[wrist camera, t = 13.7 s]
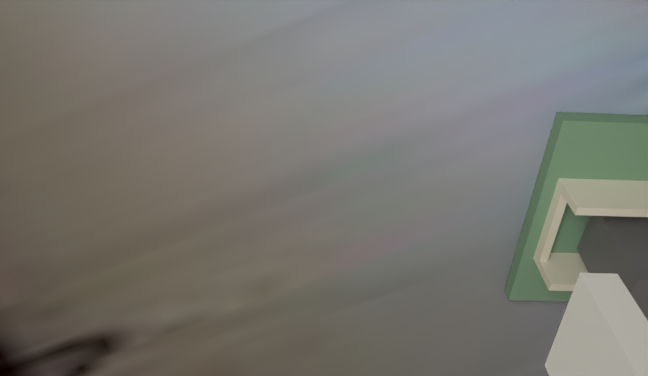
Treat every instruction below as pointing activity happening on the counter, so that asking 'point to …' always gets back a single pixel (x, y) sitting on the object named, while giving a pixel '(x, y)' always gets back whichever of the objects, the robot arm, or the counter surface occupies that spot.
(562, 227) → the board
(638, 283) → the plug
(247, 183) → the counter surface
